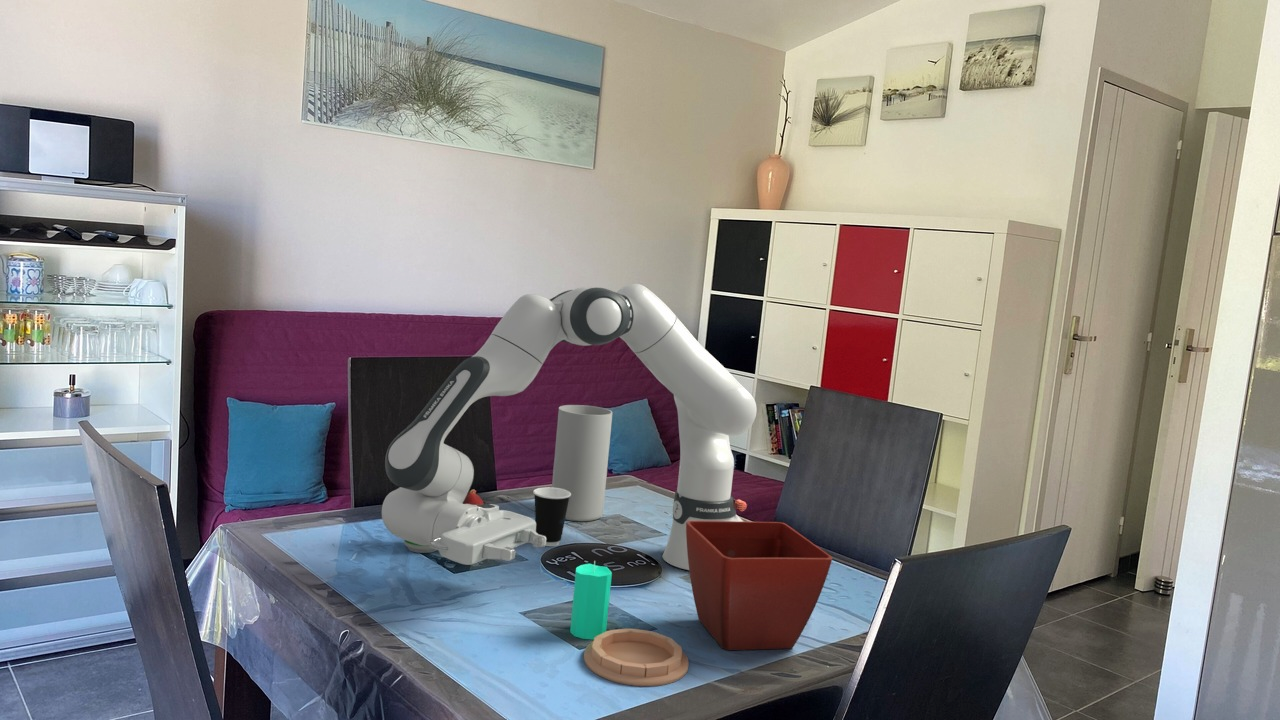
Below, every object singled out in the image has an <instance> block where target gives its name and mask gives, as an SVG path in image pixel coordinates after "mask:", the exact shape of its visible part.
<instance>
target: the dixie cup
mask: <svg viewBox="0 0 1280 720" xmlns="http://www.w3.org/2000/svg"><path fill="white" fill-rule="evenodd" d="M532 492H533V495H534V521H535V522H536V533H538V534H539V535H542V536H545V537H546V545H545V546H554V547H557V546H556V545H558V546H559V545H560V542H561V541H562V537H563V532H564V526H565V522H566V520H565V517H566V512H567V507H568V502H569V497H570V496H571V493H570V492H569V491H567V490H564V489H560V488H552V486H551V487H548V486H547V487H537V488H535V489H534V490H533V491H532ZM545 546H544V547H545Z"/></svg>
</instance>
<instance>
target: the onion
mask: <svg viewBox="0 0 1280 720" xmlns="http://www.w3.org/2000/svg"><path fill="white" fill-rule="evenodd" d="M476 493H477V490H475V489H471V490H469V492H468V494H467V496H466V498H465V500H464V502H463V504H471V505H483V504H485V503H484V501H483V499H482V498H481V497H480V496H479V495H478V494H476Z"/></svg>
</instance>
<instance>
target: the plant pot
mask: <svg viewBox="0 0 1280 720" xmlns="http://www.w3.org/2000/svg"><path fill="white" fill-rule="evenodd" d="M686 539H687V554H688V564H689V570H688V571H689V577H690V584H691V590H692V596H693V601H694V606H695V609H696V613H697V617H698V620H699V622H700V623H701V624H702V626H703V627H704V628H705V629H706V630H707V631H708V633H709V634H710V635H711V636H712V638H714V640H715V641H716V642H717V643H718V645H719V646H720V647H721V648H722V649H723V650H728V651H739V650H740V651H741V650H743V651H744V650H748V651H749V650H775V649H778V650H779V649H782V650H783V649H792V648H794V646H795V645H796V643H797V641H798V640H799V639H800V636H801V635H802V633H803V632H804V629H805V628H806V626H807V623H808V622H809V620H810V618H811V616H812V614H813V612H814V610H815V607H816V605H817V603H818V601H819V598H820V596H821V594H822V591H823V588H824V585H825V582H826V580H827V577H828V575H829V571H830V568H831V564H832V561H833V557H832V556H831V555H830V554H829V553H827V552H825V550H823V549H821V548H820V547H819V546H817V545H816V544H814V543H813V542H812V541H810V540H809V539H807V537H805V536H803V535H802V534H800V532H798V531H797V530H795V529H794V528H793V527H791V526H789V525H788V524H787V523H784V522H781V521H780V522H779V521H744V522H742V521H687V522H686Z"/></svg>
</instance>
